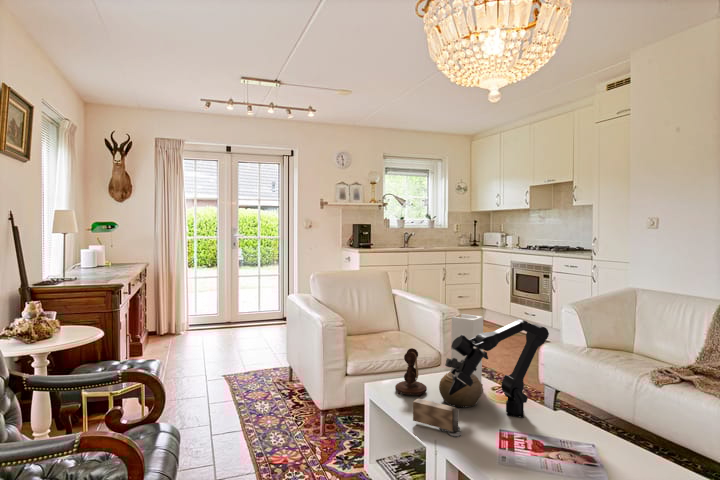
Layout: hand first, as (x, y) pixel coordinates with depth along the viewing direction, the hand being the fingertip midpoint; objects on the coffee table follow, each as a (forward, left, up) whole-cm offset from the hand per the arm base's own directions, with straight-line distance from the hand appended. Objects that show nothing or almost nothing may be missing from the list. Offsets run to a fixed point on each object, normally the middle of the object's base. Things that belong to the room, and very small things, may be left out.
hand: (449, 394), depth 175 cm
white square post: (-2, -40, -11) cm, 41 cm away
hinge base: (-4, +11, -11) cm, 16 cm away
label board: (+3, +1, -11) cm, 11 cm away
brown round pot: (-1, -20, -11) cm, 23 cm away
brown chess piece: (+22, -25, -11) cm, 35 cm away
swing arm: (+4, +10, -9) cm, 13 cm away
